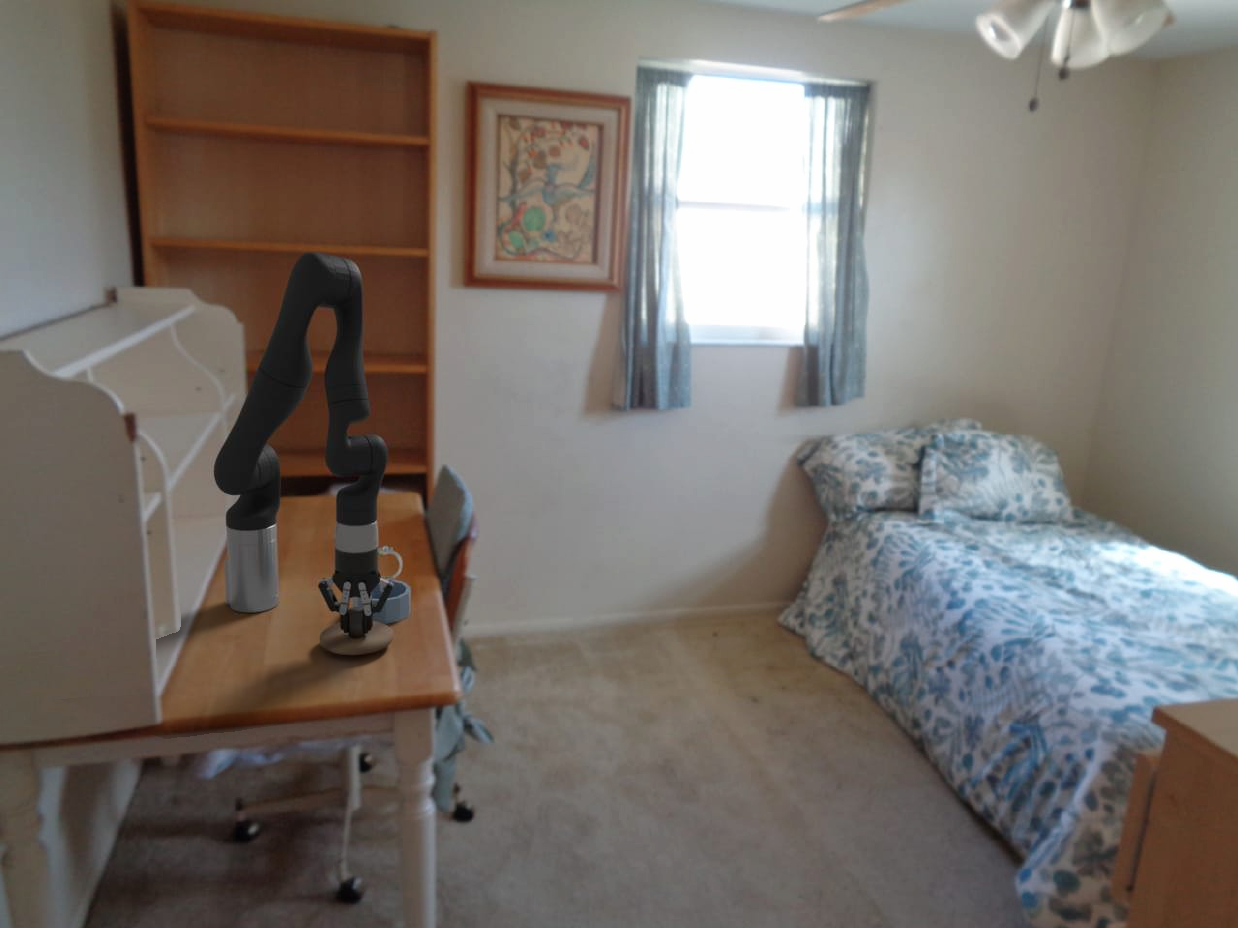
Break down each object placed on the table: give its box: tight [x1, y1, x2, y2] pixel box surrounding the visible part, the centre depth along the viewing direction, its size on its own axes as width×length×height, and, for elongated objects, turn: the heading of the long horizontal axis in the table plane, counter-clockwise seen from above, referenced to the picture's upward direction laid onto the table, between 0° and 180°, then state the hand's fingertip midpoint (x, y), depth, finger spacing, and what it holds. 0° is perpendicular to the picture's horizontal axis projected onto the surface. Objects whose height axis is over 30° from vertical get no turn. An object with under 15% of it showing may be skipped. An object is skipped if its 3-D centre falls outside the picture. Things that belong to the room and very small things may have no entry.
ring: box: [378, 545, 404, 580], centre depth 190 cm, size 7×3×8 cm, turn 98°
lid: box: [319, 606, 394, 656], centre depth 159 cm, size 13×13×6 cm
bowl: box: [352, 579, 412, 625], centre depth 174 cm, size 11×11×5 cm
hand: (356, 631), depth 159 cm, fingers closed on lid, 3 cm apart
